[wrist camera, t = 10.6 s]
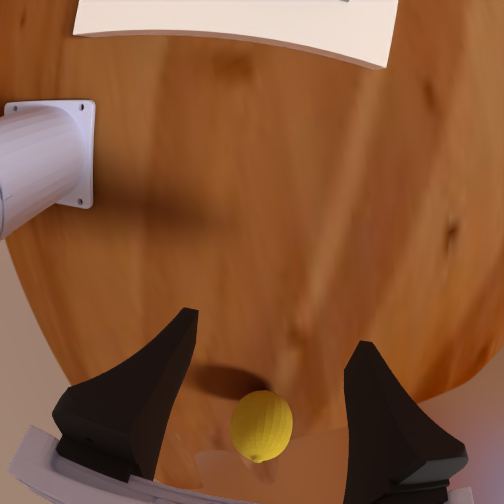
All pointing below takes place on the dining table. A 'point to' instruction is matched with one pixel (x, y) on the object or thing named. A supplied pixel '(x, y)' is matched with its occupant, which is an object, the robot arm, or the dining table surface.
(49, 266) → the dining table surface
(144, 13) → the socket board
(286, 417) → the lemon
